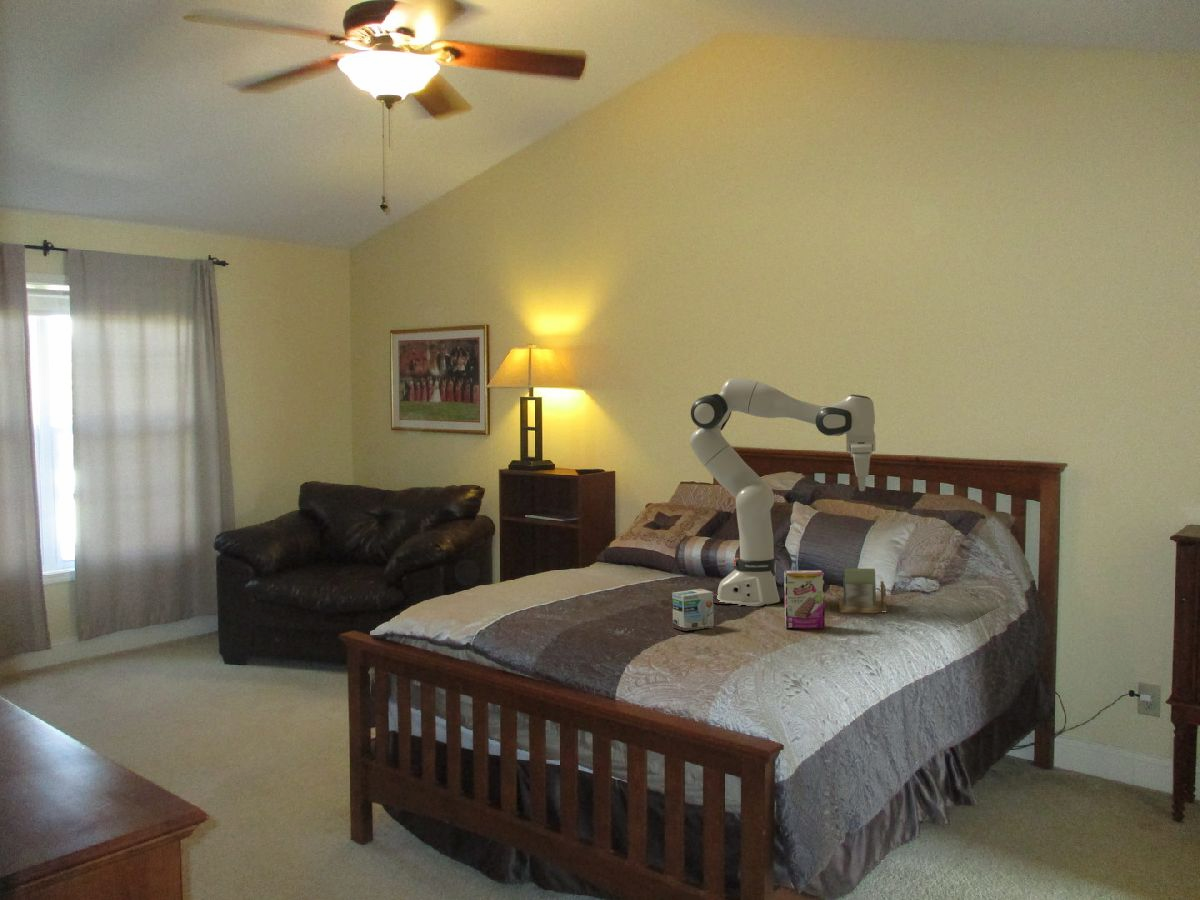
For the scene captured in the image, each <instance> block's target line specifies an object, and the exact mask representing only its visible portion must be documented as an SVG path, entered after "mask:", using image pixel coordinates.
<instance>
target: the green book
mask: <svg viewBox="0 0 1200 900" xmlns="http://www.w3.org/2000/svg"><path fill="white" fill-rule="evenodd" d="M844 578H845V595H846V584H872V587H873V606H876V600H877V599H876V597H877V596H876V592H877V590H876V570H875V568H846V567H845V568H844Z"/></svg>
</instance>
